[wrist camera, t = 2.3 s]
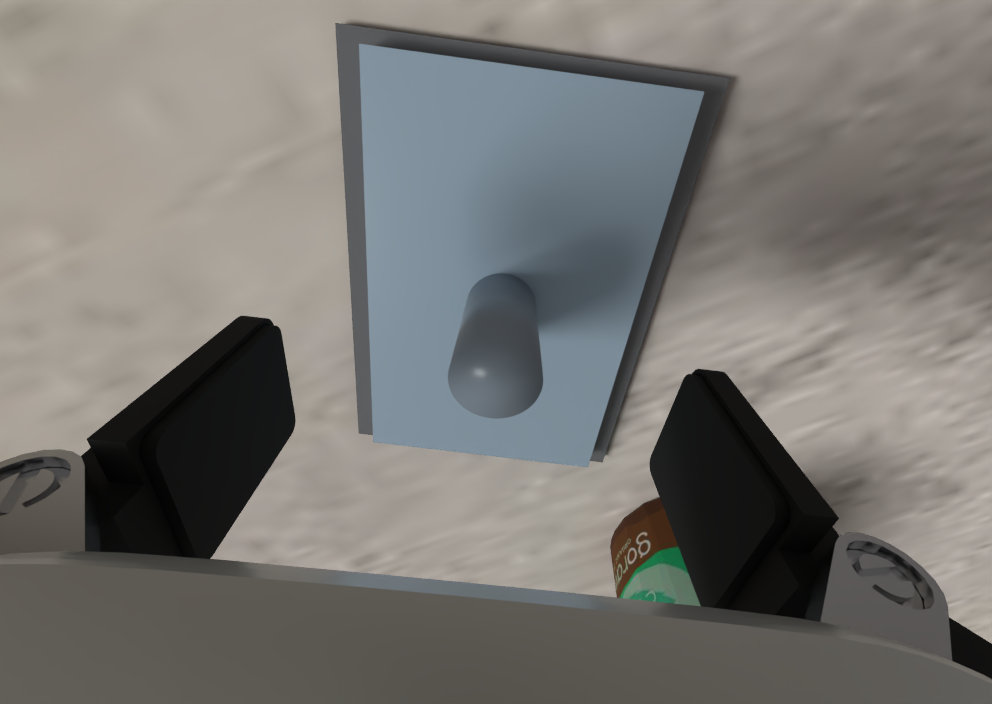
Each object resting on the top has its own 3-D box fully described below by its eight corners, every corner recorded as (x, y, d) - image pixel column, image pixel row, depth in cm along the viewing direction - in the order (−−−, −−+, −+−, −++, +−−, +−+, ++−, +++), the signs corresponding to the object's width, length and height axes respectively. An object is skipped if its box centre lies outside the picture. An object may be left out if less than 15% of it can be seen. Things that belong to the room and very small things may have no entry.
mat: (724, 79, 13) (729, 77, 13) (601, 456, 21) (602, 462, 21) (340, 25, 13) (335, 23, 13) (361, 428, 21) (358, 433, 21)
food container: (609, 458, 21) (673, 698, 13) (732, 465, 21) (882, 712, 12) (576, 599, 27) (604, 826, 19) (672, 605, 27) (744, 836, 19)
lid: (691, 92, 13) (807, 81, 8) (584, 452, 21) (607, 568, 15) (369, 48, 13) (270, 6, 8) (379, 427, 20) (332, 537, 15)
